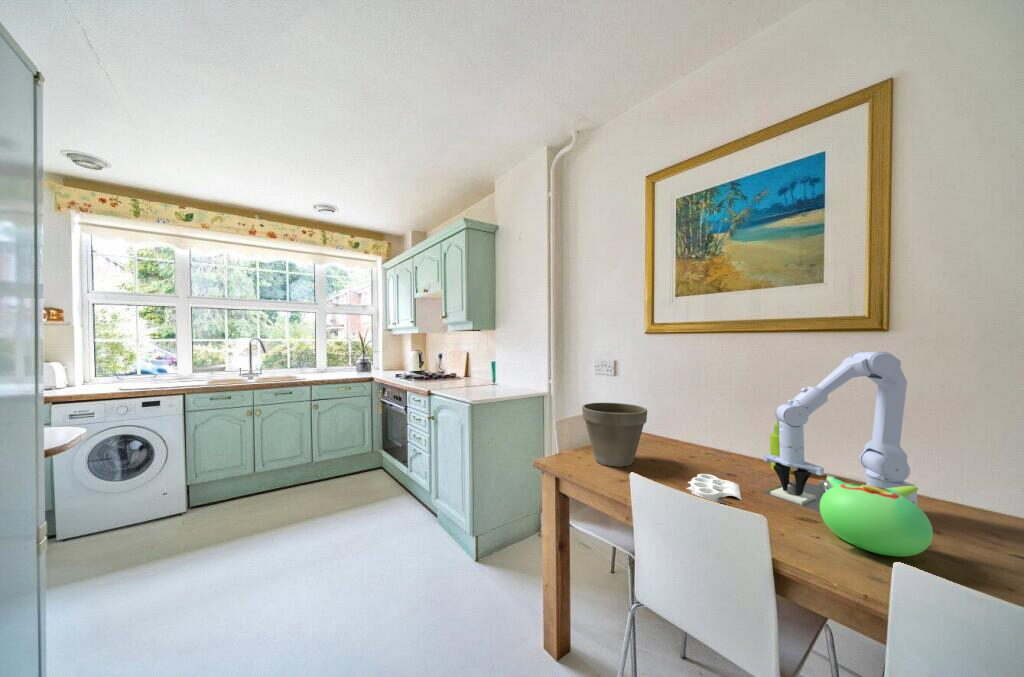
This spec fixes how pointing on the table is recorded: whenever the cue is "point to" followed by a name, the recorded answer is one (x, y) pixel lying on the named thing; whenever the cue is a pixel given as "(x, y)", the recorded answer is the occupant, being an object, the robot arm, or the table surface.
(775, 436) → the soap dispenser
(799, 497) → the cover
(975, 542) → the table surface
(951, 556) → the table surface
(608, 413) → the plant pot
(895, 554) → the toy bird
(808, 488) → the panel
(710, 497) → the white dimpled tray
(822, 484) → the t key
